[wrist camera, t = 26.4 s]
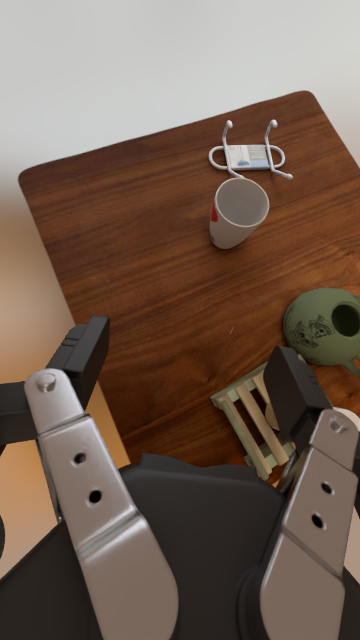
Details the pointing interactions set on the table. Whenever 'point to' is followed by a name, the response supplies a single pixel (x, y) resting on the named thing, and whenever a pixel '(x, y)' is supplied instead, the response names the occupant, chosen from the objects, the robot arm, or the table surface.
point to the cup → (237, 211)
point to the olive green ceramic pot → (325, 327)
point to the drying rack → (274, 446)
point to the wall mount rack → (249, 155)
